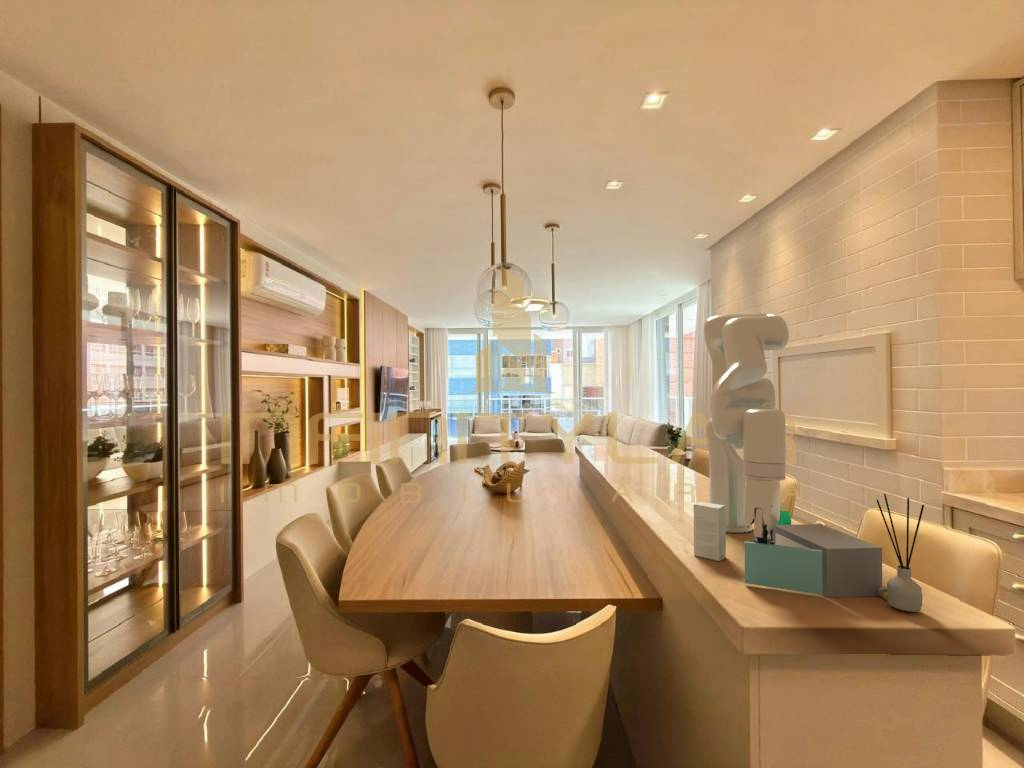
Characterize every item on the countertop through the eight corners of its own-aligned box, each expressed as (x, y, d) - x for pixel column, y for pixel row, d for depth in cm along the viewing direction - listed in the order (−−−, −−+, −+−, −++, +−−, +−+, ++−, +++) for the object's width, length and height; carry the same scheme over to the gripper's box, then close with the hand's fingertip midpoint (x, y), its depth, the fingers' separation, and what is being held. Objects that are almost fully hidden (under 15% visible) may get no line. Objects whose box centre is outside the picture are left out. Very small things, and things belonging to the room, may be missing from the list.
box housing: (772, 566, 105) (772, 525, 105) (820, 565, 106) (820, 524, 106) (826, 597, 89) (825, 548, 89) (882, 595, 90) (882, 547, 90)
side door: (821, 593, 90) (821, 550, 90) (822, 594, 89) (822, 551, 89) (744, 581, 95) (744, 541, 95) (744, 583, 94) (744, 542, 95)
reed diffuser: (941, 622, 80) (940, 501, 80) (899, 622, 80) (899, 501, 80) (892, 596, 90) (891, 489, 90) (855, 596, 90) (855, 489, 90)
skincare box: (726, 557, 111) (726, 505, 111) (719, 562, 108) (719, 508, 108) (700, 551, 115) (700, 501, 115) (692, 555, 112) (692, 504, 112)
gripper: (752, 463, 105) (752, 548, 104) (734, 473, 93) (734, 568, 93) (791, 467, 100) (791, 555, 100) (777, 477, 88) (778, 577, 88)
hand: (764, 561), depth 96 cm, fingers closed
